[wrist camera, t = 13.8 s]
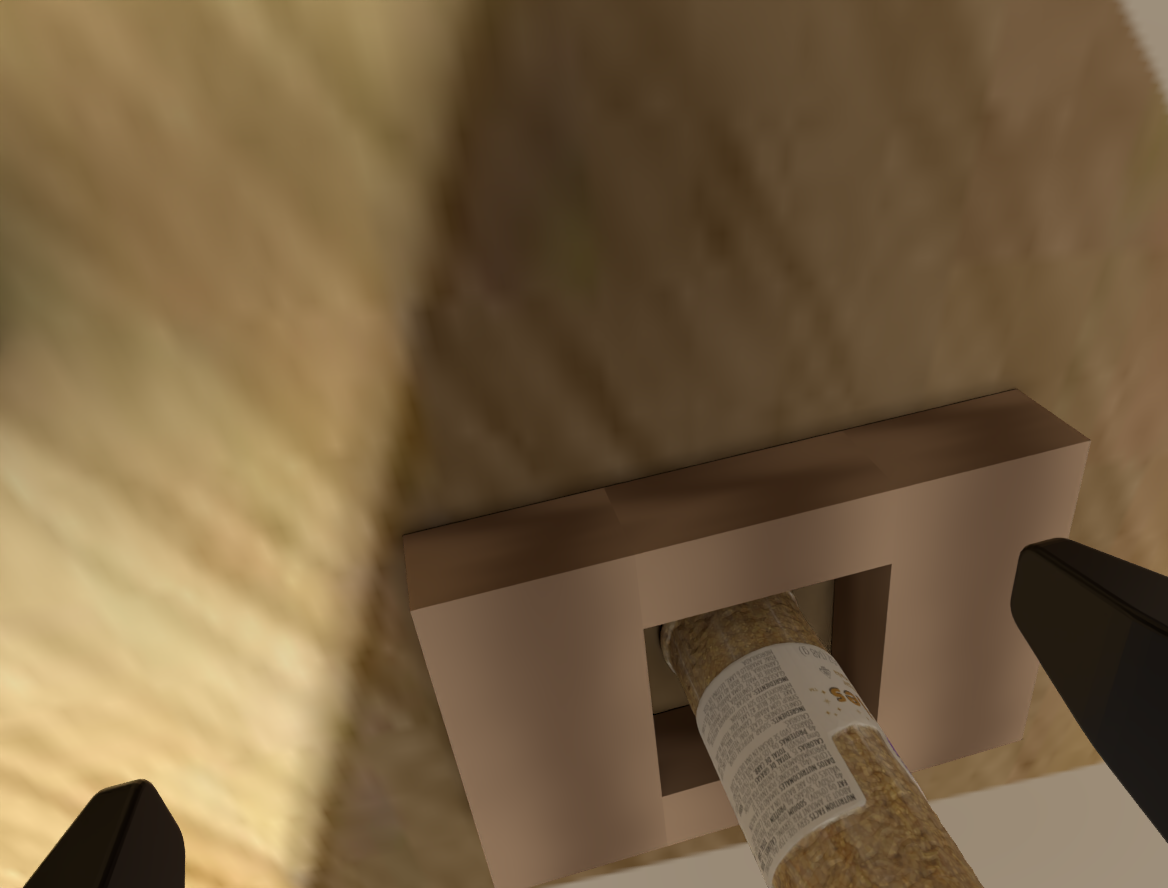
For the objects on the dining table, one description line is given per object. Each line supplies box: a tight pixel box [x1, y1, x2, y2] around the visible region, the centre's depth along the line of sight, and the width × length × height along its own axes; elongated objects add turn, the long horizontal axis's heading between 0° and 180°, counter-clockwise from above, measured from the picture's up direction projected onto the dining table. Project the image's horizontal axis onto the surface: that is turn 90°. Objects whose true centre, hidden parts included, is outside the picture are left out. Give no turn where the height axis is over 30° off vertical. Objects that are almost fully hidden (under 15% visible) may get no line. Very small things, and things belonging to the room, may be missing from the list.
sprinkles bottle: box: [661, 590, 984, 888], centre depth 22 cm, size 5×5×14 cm
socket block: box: [403, 389, 1091, 888], centre depth 26 cm, size 18×12×3 cm, turn 97°
